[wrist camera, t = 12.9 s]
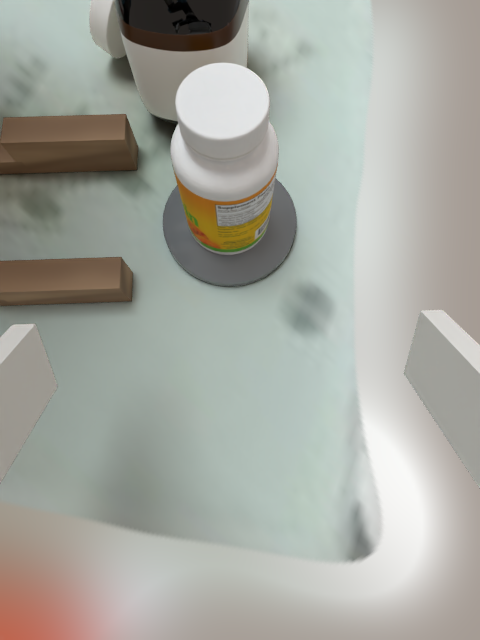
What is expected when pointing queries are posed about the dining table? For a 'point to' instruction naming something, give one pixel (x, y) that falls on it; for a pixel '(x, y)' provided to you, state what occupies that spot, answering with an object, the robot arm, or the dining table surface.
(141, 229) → the dining table surface
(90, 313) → the dining table surface
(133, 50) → the spread jar
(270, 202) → the supplement bottle
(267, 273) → the pad
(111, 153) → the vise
